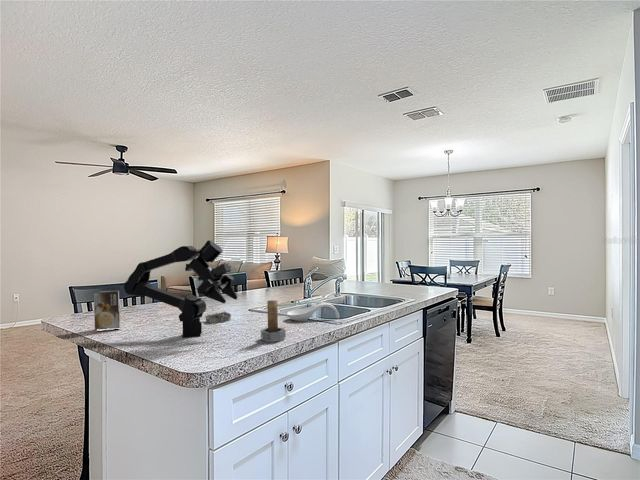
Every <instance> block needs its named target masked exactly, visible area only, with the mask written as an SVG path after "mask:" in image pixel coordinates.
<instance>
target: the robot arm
mask: <svg viewBox="0 0 640 480" xmlns="http://www.w3.org/2000/svg"><path fill="white" fill-rule="evenodd" d="M223 252H224V251H223V249H222V247H221V246H220V245H219V244H216V243H215V242H213V241H212V240H207V241H206V242H205V244H204V245H203V246H202V247H201V248H199V249H197V248H196V247H195V246H193V245H183V246H179V247H178V248H176V249H174V250H173V251H171V252H169V253H168V254H165V255H162V256H159V257H156V258H153V259H149V260H147V261H143V262H139V263H138V264H137V266H136V267H135V269H134V270H133V272H132V273H131V274H130V275H129V277H128V278H127V279H126V281H125V282H124V284H123V289H124V292H125V294H126V295H130V296H135V297H136V296H137V297H138V296H139V297H146V298H149V299H152V300H155V301H157V302H161V303H162V304H166V305H169V306H172V307H175V308H177V309H178V310H179V311H180V312H181V313H179V315H178V320H179V322H182V334H181V335H182V338H184V339H186V338H193V337H202V336H201V334H202V333H203V330H202V327H203V326H202V321H201V318H202V317H203V314H204V313H205V311H206V310H207V304H206V301H205V300H203V299H202V297H197V296H196V295H193V294H190V295H187V296H185V297H183V296H181V295H178V294H176V293H172V292H170V291H167V290H164V289H161V288H158V287H155V286H153V284H151V283H150V282H149V281H150V277H151V272H152V271H154V270H157V269H160V268H163V267H166V266H169V265H172V264H175V263H181V262H183V263H184V262H189V263H185V268H184V270H185V272H191V271H193V273H194V274H196V276H197V277H198V278H197V280H198V281H199V282H200V281H202V282H201V283H200V284H199V286H198V287H197V288H196V293H198V295H199V296H203V297H206V298H207V299H208V298H209V299H212V300H213V301H216V302H219V303H221V304H225V303H226V302H227V300H226V299H225V297H224V296H223V294H225V295H226V296H228V297H229V298H231V299H233V300H236V301H237V300H238V296H237V293H236V292H235V289H234V286H233V283H234V280H235V277H233V276H232V275H225V274H226V273H229V272H232V269H231V267H232V266H231V265H230V263H228V262H224V263H221V264H220V265H217V266H215V267H213V266H212V267H211V266H210V265H209V264H208V263H214V261H216V259H217V258H218V257H219V256H220V255H221V254H222V253H223ZM222 293H223V294H222Z"/></svg>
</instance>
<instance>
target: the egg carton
mask: <svg viewBox="0 0 640 480" xmlns="http://www.w3.org/2000/svg"><path fill="white" fill-rule="evenodd" d="M231 316H232V314H231V313H230V312H227V311H225V310H223V311H221V312H218V313H217V312H216V313H212V314H209V313H206V315H204V317H205V323H209V324H217V323H223V322H229V321H231V318H232V317H231Z"/></svg>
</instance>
